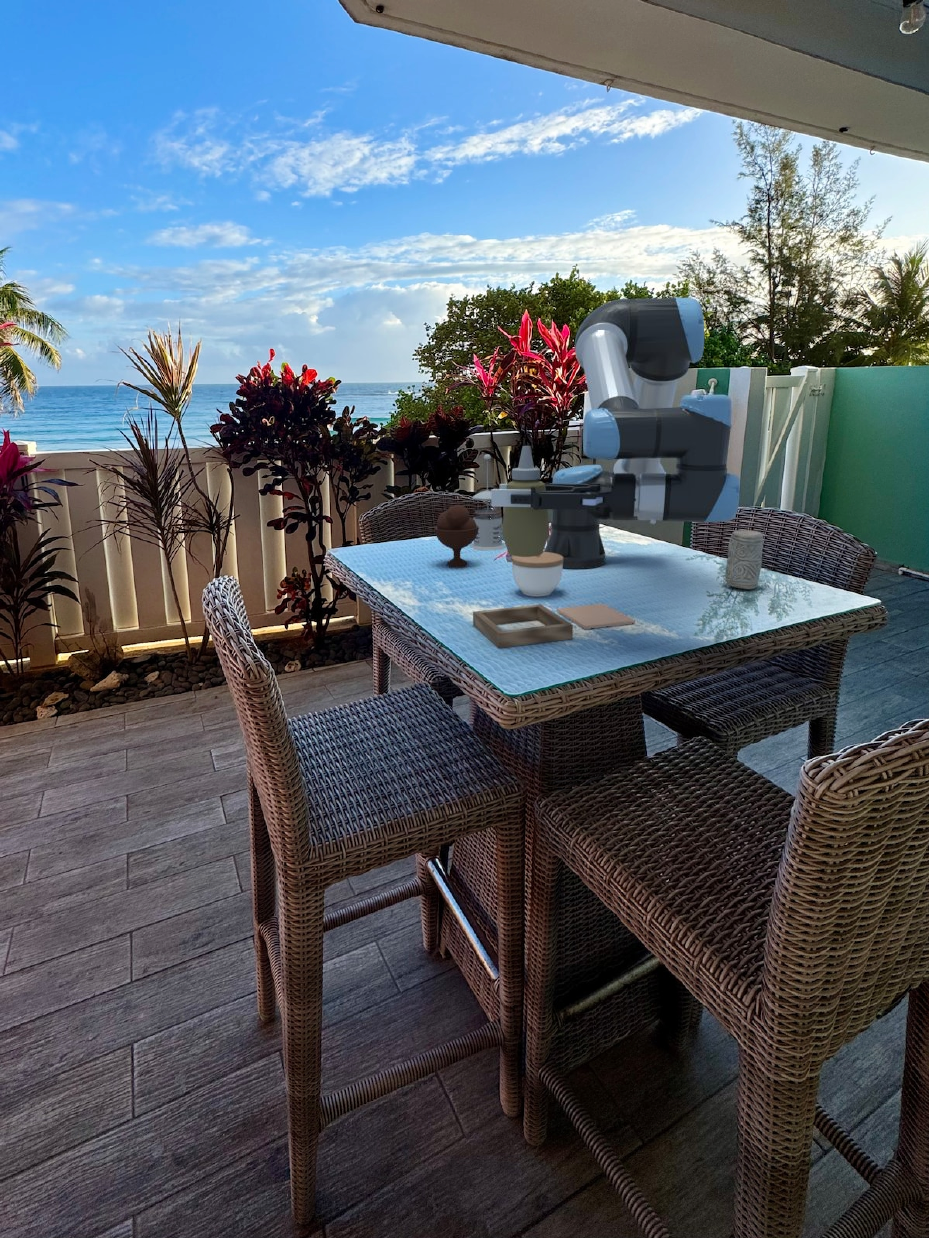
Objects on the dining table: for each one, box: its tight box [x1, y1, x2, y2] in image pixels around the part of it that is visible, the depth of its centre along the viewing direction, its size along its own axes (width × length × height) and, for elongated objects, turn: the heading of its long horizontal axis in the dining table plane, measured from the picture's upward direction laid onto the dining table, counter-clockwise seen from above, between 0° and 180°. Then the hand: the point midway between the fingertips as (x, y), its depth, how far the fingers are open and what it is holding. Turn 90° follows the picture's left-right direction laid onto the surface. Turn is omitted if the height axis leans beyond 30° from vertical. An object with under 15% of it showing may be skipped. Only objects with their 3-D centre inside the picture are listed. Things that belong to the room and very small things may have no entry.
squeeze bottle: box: [502, 445, 550, 557], centre depth 120 cm, size 8×8×18 cm
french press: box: [470, 453, 506, 551], centre depth 195 cm, size 10×12×25 cm
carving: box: [724, 529, 764, 590], centre depth 150 cm, size 6×8×12 cm
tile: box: [556, 602, 636, 630], centre depth 133 cm, size 10×12×1 cm
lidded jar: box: [511, 551, 564, 598], centre depth 149 cm, size 11×11×9 cm
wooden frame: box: [472, 603, 574, 649], centre depth 126 cm, size 13×13×2 cm
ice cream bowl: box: [434, 504, 479, 569], centre depth 174 cm, size 11×11×15 cm
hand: (496, 494), depth 121 cm, fingers closed on squeeze bottle, 6 cm apart
